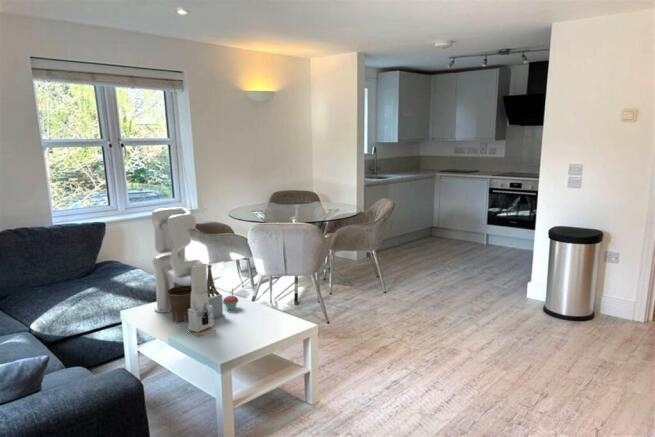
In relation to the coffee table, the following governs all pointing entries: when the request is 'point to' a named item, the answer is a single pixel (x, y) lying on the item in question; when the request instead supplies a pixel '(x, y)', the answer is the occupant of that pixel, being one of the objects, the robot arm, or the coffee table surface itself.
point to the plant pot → (180, 302)
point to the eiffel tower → (211, 283)
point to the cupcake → (230, 301)
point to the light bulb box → (199, 319)
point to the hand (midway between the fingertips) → (201, 322)
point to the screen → (216, 306)
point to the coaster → (203, 331)
